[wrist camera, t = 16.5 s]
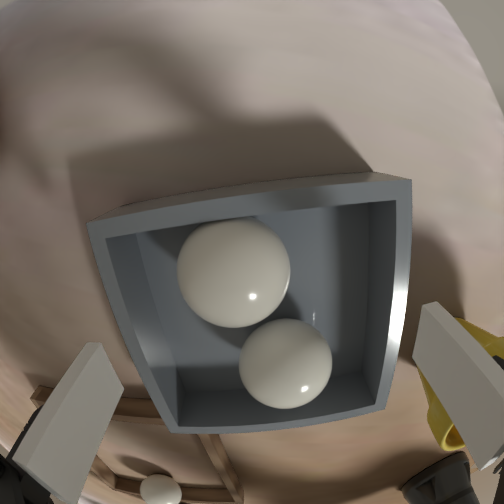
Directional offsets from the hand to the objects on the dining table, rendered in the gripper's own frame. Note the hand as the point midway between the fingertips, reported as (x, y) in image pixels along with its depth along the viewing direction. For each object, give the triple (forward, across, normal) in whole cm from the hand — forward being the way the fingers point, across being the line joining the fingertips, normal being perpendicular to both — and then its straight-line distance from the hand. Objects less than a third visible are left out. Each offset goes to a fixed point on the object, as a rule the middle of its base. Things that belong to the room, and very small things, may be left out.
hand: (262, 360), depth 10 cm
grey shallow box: (+10, 0, +3) cm, 10 cm away
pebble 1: (+10, +18, +32) cm, 37 cm away
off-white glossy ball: (+8, 0, +6) cm, 10 cm away
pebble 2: (+7, 0, +1) cm, 7 cm away
